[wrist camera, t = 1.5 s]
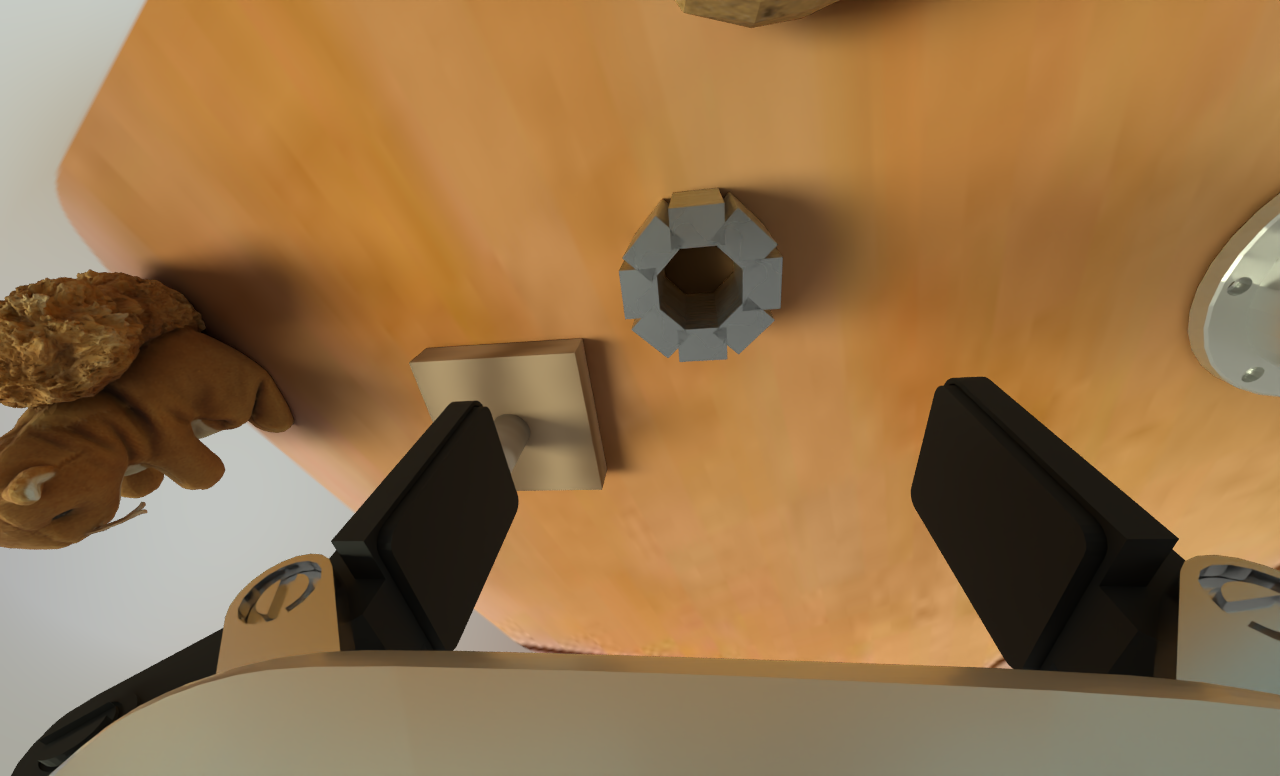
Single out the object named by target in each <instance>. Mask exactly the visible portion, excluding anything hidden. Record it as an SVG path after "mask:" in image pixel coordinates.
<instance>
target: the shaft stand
mask: <svg viewBox="0 0 1280 776" xmlns="http://www.w3.org/2000/svg"><path fill="white" fill-rule="evenodd" d="M409 364H410V367H411V369H412V372H413V374H414V377H415V379H416V382H417V384H418V387H419V389H420V391H421V394H422V396H423V399H424V401H425V404H426V406H427V409H428V411H429V414H430V416H431V419H432V421H433V422H434V421H435V420H436V419H437V418H438V416H439V415H440V414H441V413H442V412H443V411H444V409H445V408H446V407H447V406H448V405H449V404H450V403H451V402H455V401H479V402H480V403H481V404H482V405H483V407H484V406H486V407H488V408H489V409H490V411H491V414H492V417H493V420H494V423H495V426H496V429H497V432H498V436H499V439H500V442H501V445H502V448H503V451H504V454H505V457H506V460H507V463H508V467H509V470H510V473H511V476H512V479H513V482H514V485H515V488H516V491H536V490H602V488H603V484H604V480H605V476H606V472H607V467H606V462H605V456H604V451H603V446H602V440H601V435H600V430H599V424H598V419H597V414H596V408H595V403H594V398H593V392H592V387H591V382H590V376H589V371H588V366H587V361H586V355H585V350H584V345H583V339H582V338H579V339H563V340H548V341H532V342H516V343H501V344H485V345H469V346H453V347H438V348H426V349H425V350H424V351H422V352H421V353H420V354H419V355H418V356H416V357H415V358H414V359H413V360H412V361H410V362H409Z"/></svg>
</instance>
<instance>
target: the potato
mask: <svg viewBox="0 0 1280 776" xmlns="http://www.w3.org/2000/svg"><path fill="white" fill-rule="evenodd" d="M837 1H839V0H675V2H676V3H677V5H678V6H679V7H680V9H681V10H682V11H683V13H687V14H692V15H696V16H700V17H705V18H709V19H714V20H718V21H723V22H727V23H732V24H736V25H740V26H745V27H749V28H753V27H758V26H764V25H769V24H774V23H779V22H785V21H790V20H795V19H800V18H803V17H805V16H807V15H810V14H812V13H814V12H816V11H818V10H820V9H822V8H824V7H826V6H828V5H830V4H832V3H835V2H837Z"/></svg>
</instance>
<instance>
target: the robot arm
mask: <svg viewBox="0 0 1280 776" xmlns="http://www.w3.org/2000/svg"><path fill="white" fill-rule="evenodd" d="M1188 335H1189V340H1190V345H1191V350H1192V351H1193V353H1194V355H1195V356H1196V358H1197V360H1198V361H1199V363H1200V365H1201V366H1203V367H1204V368H1205V369H1206V370H1207V371H1209V372H1210V373H1211V374H1212V375H1213V376H1215V377H1217V378H1219V379H1221V380H1223V381H1225V382H1227V383H1229V384H1231V385H1233V386H1235V387H1237V388H1239V389H1242V390H1246V391H1249V392H1252V393H1255V394H1258V395H1266V396H1275V397H1280V193H1279V194H1278V195H1277V196H1276V197H1274V198H1273V199H1272V200H1271V201H1270V202H1268V203H1267V204H1266V205H1265V206H1263V207H1262V208H1261V209H1260V210H1258V211H1257V212H1256V213H1255V214H1254V215H1253V216H1252V217H1251V218H1250V219H1249V220H1248V221H1247V222H1246V223H1245V224H1244V225H1243V226H1242V227H1241V228H1240V229H1239V230H1238V231H1237V232H1236V233H1235V234H1234V235H1233V236H1232V237H1231V239H1230V240H1229V241H1228V242H1227V244H1226V245H1225V246H1224V248H1223V249H1222V250H1221V252H1220V253H1219V254H1218V255H1217V257H1216V258H1215V259H1214V261H1213V262H1212V263H1211V265H1210V267H1209V269H1208V270H1207V272H1206V274H1205V276H1204V277H1203V279H1202V281H1201V283H1200V285H1199V286H1198V288H1197V291H1196V294H1195V297H1194V300H1193V303H1192V306H1191V309H1190V313H1189V324H1188ZM911 498H912V502H913V505H914V507H915V509H916V511H917V512H918V514H919V516H920V518H921V519H922V521H923V523H924V524H925V526H926V528H927V529H928V531H929V533H930V534H931V536H932V538H933V539H934V541H935V543H936V544H937V546H938V548H939V550H940V551H941V553H942V555H943V556H944V558H945V560H946V561H947V563H948V565H949V566H950V568H951V570H952V571H953V573H954V575H955V577H956V578H957V580H958V582H959V583H960V585H961V587H962V588H963V590H964V592H965V593H966V595H967V597H968V598H969V600H970V602H971V603H972V605H973V607H974V609H975V610H976V612H977V614H978V615H979V617H980V619H981V620H982V622H983V624H984V625H985V627H986V629H987V630H988V632H989V634H990V636H991V637H992V639H993V641H994V642H995V644H996V646H997V647H998V649H999V651H1000V652H1001V654H1002V656H1003V657H1004V659H1005V660H1006V662H1007V663H1008V665H1010V666H1011V667H1012V668H1013V669H1002V668H977V667H950V666H923V665H896V664H869V663H842V662H815V661H785V660H755V659H724V658H693V657H661V656H628V655H594V654H556V653H517V652H479V651H478V652H476V651H453V650H454V649H455V648H456V646H457V644H458V642H459V640H460V638H461V636H462V634H463V631H464V629H465V627H466V625H467V622H468V620H469V618H470V615H471V613H472V611H473V609H474V607H475V604H476V602H477V600H478V598H479V595H480V593H481V591H482V589H483V586H484V584H485V582H486V580H487V577H488V575H489V573H490V571H491V568H492V566H493V564H494V562H495V559H496V557H497V555H498V553H499V550H500V548H501V546H502V544H503V541H504V539H505V537H506V535H507V532H508V530H509V528H510V526H511V524H512V521H513V519H514V517H515V515H516V512H517V509H518V495H517V491H516V488H515V485H514V482H513V479H512V476H511V473H510V470H509V467H508V463H507V460H506V457H505V454H504V451H503V448H502V445H501V442H500V439H499V436H498V432H497V429H496V426H495V423H494V420H493V417H492V414H491V411H490V409H489V408H488V407H486V406H484V407H483V405H482V404H481V403H480V402H479V401H455V402H451V403H450V404H449V405H448V406H447V407H446V408H445V409H444V411H443V412H442V413H441V414H440V415H439V416H438V418H437V419H436V420H435V421H434V422H433V423H432V425H431V426H430V427H429V428H428V429H427V430H426V432H425V433H424V434H423V435H422V436H421V437H420V438H419V440H418V441H417V442H416V443H415V444H414V445H413V447H412V448H411V449H410V450H409V451H408V452H407V454H406V455H405V456H404V457H403V458H402V459H401V461H400V462H399V463H398V464H397V465H396V466H395V468H394V469H393V470H392V471H391V472H390V473H389V474H388V476H387V477H386V478H385V479H384V480H383V481H382V483H381V484H380V485H379V486H378V487H377V488H376V490H375V491H374V492H373V493H372V494H371V495H370V497H369V498H368V499H367V500H366V501H365V502H364V504H363V505H362V506H361V507H360V508H359V509H358V511H357V512H356V513H355V514H354V515H353V516H352V518H351V519H350V520H349V521H348V522H347V523H346V524H345V526H344V527H343V528H342V529H341V530H340V531H339V533H338V534H337V535H336V536H335V537H334V538H333V540H332V541H331V542H332V544H333V545H334V547H335V548H336V551H335V553H334V554H333V555H332V556H331V557H330V558H326V557H325V556H323V555H321V554H306V555H301V556H296V557H294V558H291V559H288V560H286V561H283V562H281V563H279V564H277V565H275V566H273V567H271V568H270V569H268V570H266V571H265V572H263V573H262V574H260V575H259V576H258V577H256V578H255V579H253V580H252V581H251V582H250V583H249V584H248V585H247V586H246V587H245V588H244V589H243V590H241V591H240V593H239V594H238V595H237V596H236V598H235V599H234V600H233V602H232V603H231V605H230V606H229V609H228V611H227V614H226V616H225V621H224V628H222V629H221V630H219V631H217V632H215V633H213V634H211V635H209V636H207V637H205V638H204V639H202V640H200V641H198V642H196V643H194V644H192V645H191V646H189V647H187V648H185V649H183V650H181V651H179V652H177V653H175V654H174V655H172V656H170V657H168V658H166V659H164V660H162V661H160V662H159V663H157V664H155V665H153V666H151V667H149V668H148V669H146V670H144V671H142V672H140V673H138V674H136V675H134V676H133V677H131V678H129V679H127V680H125V681H123V682H121V683H119V684H117V685H116V686H113V687H112V688H110V689H108V690H106V691H104V692H102V693H100V694H98V695H97V696H95V697H93V698H92V699H90V700H89V701H87V702H85V703H84V704H82V705H80V706H79V707H77V708H75V709H74V710H72V711H70V712H69V713H67V714H66V715H65V716H63V717H62V718H61V719H59V720H58V721H57V722H56V723H55V724H54V725H52V726H51V727H50V728H49V729H48V730H47V731H46V732H45V733H44V735H43V736H42V737H41V738H40V739H39V740H37V741H36V742H35V743H34V744H33V746H32V747H31V748H30V749H29V750H28V752H27V753H26V754H25V755H24V757H23V758H22V759H21V760H20V762H19V763H18V764H17V766H16V768H15V769H14V771H13V773H12V775H11V776H1280V571H1278V570H1275V569H1273V568H1270V567H1268V566H1265V565H1261V564H1258V563H1254V562H1251V561H1247V560H1243V559H1240V558H1234V557H1227V556H1220V555H1204V556H1195V557H1193V558H1191V559H1189V560H1187V561H1185V560H1184V559H1183V558H1182V557H1181V556H1179V555H1178V554H1177V553H1176V552H1175V551H1174V550H1173V547H1174V546H1175V544H1176V543H1177V541H1178V540H1179V538H1177V537H1176V536H1175V535H1174V534H1173V533H1171V532H1170V531H1169V530H1168V529H1167V528H1166V527H1164V526H1163V525H1162V524H1161V523H1160V522H1158V521H1157V520H1156V519H1155V518H1154V517H1152V516H1151V515H1150V514H1149V513H1148V512H1146V511H1145V510H1144V509H1143V508H1142V507H1141V506H1139V505H1138V504H1137V503H1136V502H1135V501H1133V500H1132V499H1131V498H1130V497H1129V496H1127V495H1126V494H1125V493H1124V492H1123V491H1122V490H1120V489H1119V488H1118V487H1117V486H1116V485H1114V484H1113V483H1112V482H1111V481H1110V480H1108V479H1107V478H1106V477H1105V476H1104V475H1103V474H1101V473H1100V472H1099V471H1098V470H1097V469H1095V468H1094V467H1093V466H1092V465H1091V464H1089V463H1088V462H1087V461H1086V460H1085V459H1083V458H1082V457H1081V456H1080V455H1079V454H1078V453H1076V452H1075V451H1074V450H1073V449H1072V448H1070V447H1069V446H1068V445H1067V444H1066V443H1064V442H1063V441H1062V440H1061V439H1060V438H1059V437H1057V436H1056V435H1055V434H1054V433H1053V432H1051V431H1050V430H1049V429H1048V428H1047V427H1045V426H1044V425H1043V424H1042V423H1041V422H1040V421H1038V420H1037V419H1036V418H1035V417H1034V416H1032V415H1031V414H1030V413H1029V412H1028V411H1026V410H1025V409H1024V408H1023V407H1022V406H1020V405H1019V404H1018V403H1017V402H1016V401H1015V400H1013V399H1012V398H1011V397H1010V396H1009V395H1007V394H1006V393H1005V392H1004V391H1003V390H1001V389H1000V388H999V387H998V386H997V385H996V384H994V383H993V382H992V381H991V380H990V379H988V378H986V377H964V378H951V379H949V380H947V382H946V383H945V385H944V386H939V387H938V388H937V389H936V391H935V394H934V398H933V402H932V406H931V410H930V414H929V418H928V422H927V426H926V430H925V434H924V439H923V443H922V447H921V451H920V455H919V459H918V463H917V467H916V471H915V475H914V479H913V483H912V487H911Z"/></svg>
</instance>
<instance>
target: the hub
mask: <svg viewBox="0 0 1280 776" xmlns="http://www.w3.org/2000/svg"><path fill="white" fill-rule="evenodd" d="M777 245H778V244H777V243H776V241H775V240H774V239H773V237H772V236H771V235H770V233H769V232H768V230H767V229H766V228H765V226H764V225H763V224H762V222H761V221H760V220H759V219H758V218H757V217H756V216H755V215H753V214H752V213H751V212H750V211H749V210H748V209H747V208H746V207H745V206H744V205H743V204H742V203H741V202H740V201H739V200H738V199H737V198H735V197H734V196H733V195H732V194H731V193H730V192H728V193H727V195H726V196H725V197H724V198H722V196H721V194H720V191H719V189H718V188H712V189H703V190H693V191H684V192H675V193H673V194H672V197H671V201H670V204H668V203H667V202H666V201H665V200H664V199H662V200H661V201H660V202H659V204H658V205H657V206H656V208H655V209H654V210H653V212H652V213H651V214H650V215H649V217H648V218H647V219H646V221H645V222H644V223H643V224H642V226H641V227H640V228H639V230H638V231H637V232H636V233H635V235H634V237H633V239H632V241H631V243H630V245H629V247H628V248H627V250H626V252H625V254H624V256H623V259H624V262H623V264H622V266H621V268H620V270H619V276H620V283H621V290H622V298H623V305H624V313H625V319H635V320H634V323H633V326H632V330H633V331H634V332H635V333H636V334H638V335H639V336H640V337H641V338H643V339H644V340H645V341H647V342H648V343H649V344H650V345H652V346H653V347H654V348H656V349H657V350H658V351H659V352H661V353H662V354H663V355H665V356H666V357H667V358H669V357H670V356H671V355H672V354H673V353H674V352H675V351H676V350H677V349H678V348H679V360H680V362H686V361H704V360H723V359H727V345H728V346H729V347H730V348H732V349H733V350H734V351H735V352H736V353H738V354H740V353H741V352H742V351H743V350H744V349H745V348H746V347H747V346H748V345H749V344H750V343H751V342H752V341H753V340H754V339H756V338H757V337H758V336H759V335H760V334H761V333H762V332H763V331H764V330H765V329H766V328H767V327H768V326H769V325H770V324H771V323H772V322H774V321H775V320H774V317H773V315H772V313H771V310H770V309H780V308H781V285H782V263H783V257H782V255H781V254H780V253H779V251H778V250H777V248H776V246H777ZM707 246H717V247H718V248H720V249H721V250H722V251H723V252H724V253H725V254H726V255H727V256H728V257H730V258H731V259H732V260H733V272H732V273H731V275H730V276H729V277H728V278H727V279H726V280H725V281H724V282H723V283H722V284H721V285H720V286H719V287H718V288H717V289H716V290H715V292H710V293H697V294H685V293H684V292H683V291H682V290H681V289H679V288H678V287H677V286H676V285H675V284H673V283H672V282H671V281H670V280H669V279H667V278H666V277H665V266H666V265H667V263H668V262H669V261H670V260H671V259H672V258H673V256H674V255H675V254H676V253H677V252H678V250H679V249H684V248H695V247H707Z"/></svg>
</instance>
